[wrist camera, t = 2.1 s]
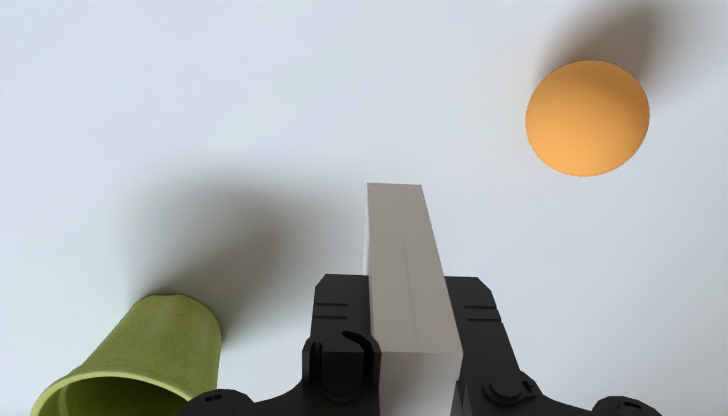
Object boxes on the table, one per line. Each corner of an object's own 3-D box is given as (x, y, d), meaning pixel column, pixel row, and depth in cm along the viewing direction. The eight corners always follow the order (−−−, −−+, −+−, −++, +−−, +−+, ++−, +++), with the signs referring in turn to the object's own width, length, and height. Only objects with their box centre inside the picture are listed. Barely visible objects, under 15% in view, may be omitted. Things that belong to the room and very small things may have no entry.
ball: (603, 153, 30) (651, 198, 25) (504, 149, 30) (533, 193, 25) (631, 51, 27) (690, 79, 23) (523, 46, 27) (559, 73, 22)
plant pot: (151, 240, 32) (88, 340, 25) (278, 323, 35) (256, 436, 28) (73, 333, 35) (-5, 447, 28) (195, 402, 38) (156, 522, 31)
